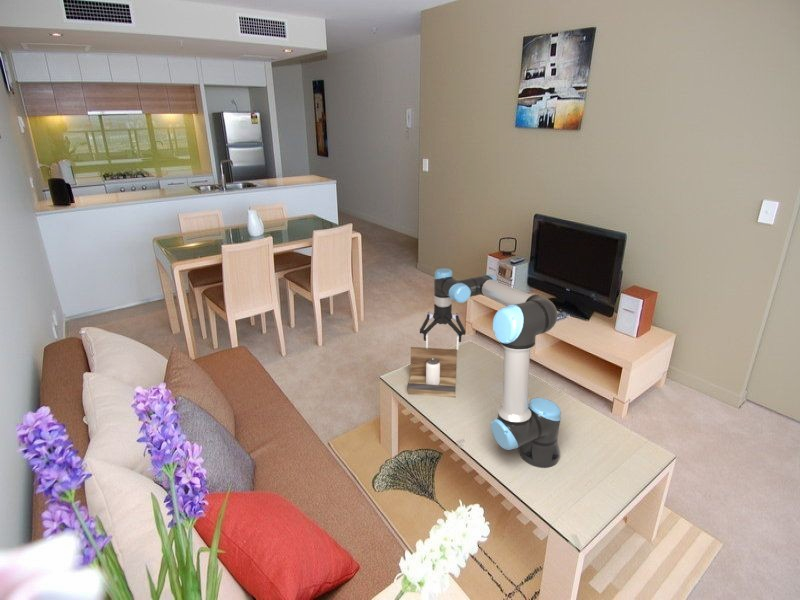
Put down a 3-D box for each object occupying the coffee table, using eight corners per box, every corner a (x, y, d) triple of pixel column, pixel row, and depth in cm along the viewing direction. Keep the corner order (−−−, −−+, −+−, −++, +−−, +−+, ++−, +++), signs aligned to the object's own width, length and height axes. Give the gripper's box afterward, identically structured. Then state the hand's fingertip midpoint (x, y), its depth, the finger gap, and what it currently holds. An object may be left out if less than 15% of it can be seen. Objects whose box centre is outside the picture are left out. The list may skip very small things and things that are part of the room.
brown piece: (455, 397, 214) (456, 363, 207) (408, 394, 217) (407, 361, 210) (455, 381, 226) (457, 349, 219) (411, 378, 229) (410, 346, 222)
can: (441, 385, 218) (442, 363, 213) (428, 387, 216) (428, 365, 211) (436, 378, 223) (437, 356, 219) (424, 380, 222) (424, 358, 217)
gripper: (471, 301, 201) (470, 344, 209) (414, 299, 204) (415, 342, 212) (472, 308, 194) (470, 352, 203) (413, 306, 197) (413, 350, 206)
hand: (442, 347), depth 208 cm, fingers open, 13 cm apart
